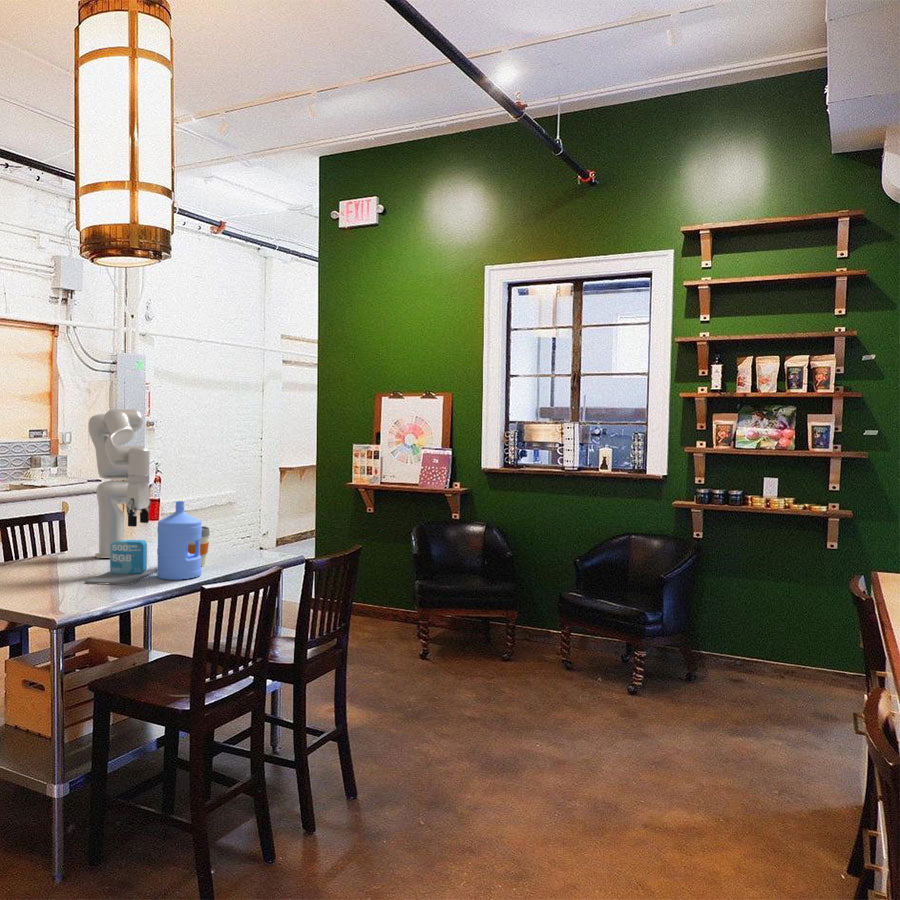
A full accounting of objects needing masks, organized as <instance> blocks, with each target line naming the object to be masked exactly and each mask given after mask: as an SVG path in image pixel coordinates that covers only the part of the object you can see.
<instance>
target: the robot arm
mask: <svg viewBox="0 0 900 900" xmlns="http://www.w3.org/2000/svg"><path fill="white" fill-rule="evenodd" d="M143 420H144V419H143V416H142V414H141V412H140V411H139V410H137V409H125V408H123V409H121V408H115V409H110V410H108V411H107V412H106V413H104V414H103V413H101V414H95V415H92V416H91V417H90V418H89V420H88V433H89V437H90V439H91V441H92V444H93V446H94V449H95V456H96V457H95V458H96V466H97V472H98V476H99V477H100V478H101V479H105V480H108V481H102V482H101V483H99V484H98V485H97V487H96V499H97V505H98V552H97V553H95V554H94V558H95V557H97V558H96V559H99V558H110V545H111V543H112V542H114V541H116V540H125V538H124V537H125V536H124V534H125V533H124V532H125V520H124V519H125V517H124V516H125V515H124V512H123V511H122V509H121V508H120V507H119V505H121V504H125V508H126V514H127V515H126V516H127V526H128V527H134V528H135V527H137V525H138V523H137V522H138V516H137V513H138V511H140V512H139V523H141V524H142V523H143V524H144V523H145V524H147V523H149V519H150V517H149V515H150V514H149V513H150V507H151V506H150V505H151V499H150V487H149V484H150V454H151V453H150V450H149V448H148V447H145V446H143V445H126V444H128V443H130V442H131V441H132V440H133V438H134V436H135V433H136V432H138V431H140V430H141V428H142V426H143V423H144V421H143ZM108 435H109V436H108ZM119 479H120V480H119ZM123 479H125V480H123Z"/></svg>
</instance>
